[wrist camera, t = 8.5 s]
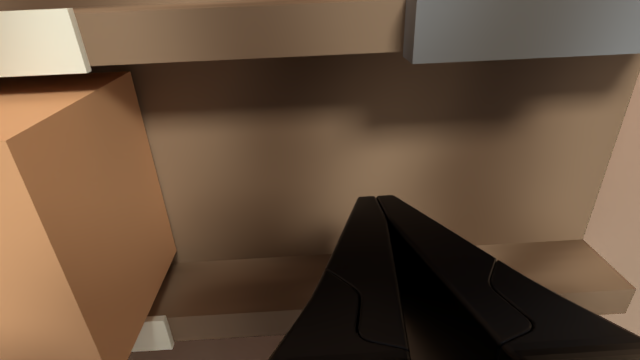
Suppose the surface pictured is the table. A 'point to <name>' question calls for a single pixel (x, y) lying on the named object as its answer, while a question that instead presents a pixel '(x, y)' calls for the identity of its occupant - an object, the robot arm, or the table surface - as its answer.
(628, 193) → the table surface
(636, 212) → the table surface
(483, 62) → the chute
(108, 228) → the block
